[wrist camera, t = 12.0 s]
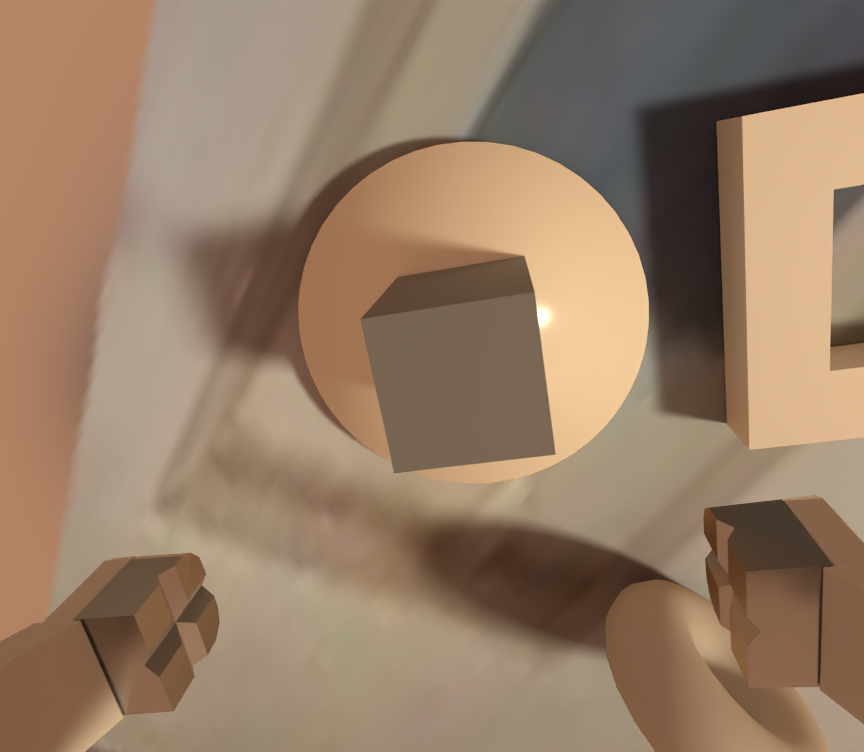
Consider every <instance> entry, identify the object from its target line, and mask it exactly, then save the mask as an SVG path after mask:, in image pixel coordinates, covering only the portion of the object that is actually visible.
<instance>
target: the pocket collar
mask: <svg viewBox="0 0 864 752" xmlns="http://www.w3.org/2000/svg"><path fill="white" fill-rule="evenodd" d="M716 123H717V152H718V182H719V211H720V240H721V269H722V299H723V328H724V357H725V386H726V415H727V425H728V426H729V427H730V428H731V429H732V430H733V431H734V433H735V434H736V435H737V436H738V437H739V438H740V439H741V441H742V442H743V443H744V444H745V445H746V446H747V447H748V449H749V450H752V449H761V448H770V447H779V446H788V445H797V444H806V443H815V442H824V441H833V440H842V439H851V438H860V437H864V343H857V344H850V345H842V346H835V347H830V337H831V290H832V243H833V195H834V189H839V188H845V187H851V186H857V185H863V184H864V93H862V94H857V95H851V96H846V97H841V98H836V99H830V100H825V101H820V102H815V103H809V104H804V105H799V106H793V107H788V108H783V109H778V110H772V111H767V112H762V113H756V114H751V115H746V116H741V117H735V118H730V119H725V120H720V121H716Z"/></svg>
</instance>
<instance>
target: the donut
mask: <svg viewBox="0 0 864 752" xmlns="http://www.w3.org/2000/svg"><path fill="white" fill-rule="evenodd" d="M605 638H606V654H607V659H608V662H609V665H610V668H611V671H612V674H613V677H614V680H615V684H616V687H617V689H618V690H619V692H620V694H621V696H622V698H623V700H624V702H625V704H626V706H627V708H628V710H629V712H630V714H631V715H632V717H633V719H634V721H635V723H636V724H637V726H638V727H639V729H640V730H641V732H642V733H643V734H644V736H645V737H646V739H647V740H648V742H649V743H650V744H651V746H652V747H653V749H654V750H655V752H830V751H829V748H828V746H827V744H826V742H825V739H824V737H823V735H822V733H821V730H820V728H819V726H818V724H817V722H816V720H815V719H814V717H813V715H812V714H811V712H810V710H809V709H808V707H807V706H806V704H805V702H804V701H803V699H802V698H801V696H800V694H799V693H798V692H797V690H796V689H795V688H794V687H768V688H749V687H748V685H747V682H746V680H745V678H744V676H743V674H742V671H741V669H740V667H739V665H738V663H737V661H736V658H735V656H734V654H733V652H732V650H731V632H730V631H729V630H727V629H726V628H724V627H723V626H721V625H720V623H719V620H718V618H717V615H716V613H715V611H714V607H713V604H712V602H710V601H708V600H707V599H705V598H703V597H702V596H700V595H699V594H697V593H695V592H694V591H692V590H690V589H688V588H686V587H684V586H681V585H678V584H675V583H672V582H669V581H665V580H659V579H655V580H649V581H644V582H639V583H634V584H631V585H629V586H628V587H626V588H624V589H623V590H622V591H621V592H620V593H619V595H618V596H617V597H616V599H615V600H614V602H613V604H612V606H611V608H610V609H609V611H608V614H607V617H606V621H605Z"/></svg>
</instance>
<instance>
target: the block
mask: <svg viewBox="0 0 864 752" xmlns="http://www.w3.org/2000/svg"><path fill="white" fill-rule="evenodd" d="M360 320H361V325H362V329H363V334H364V338H365V343H366V347H367V352H368V356H369V361H370V366H371V370H372V375H373V379H374V384H375V388H376V393H377V397H378V402H379V406H380V411H381V415H382V420H383V424H384V429H385V433H386V438H387V442H388V447H389V451H390V456H391V461H392V465H393V470H394V473H401V472H409V471H418V470H427V469H436V468H444V467H453V466H462V465H470V464H479V463H488V462H496V461H505V460H514V459H522V458H531V457H540V456H549V455H556V453H555V445H554V437H553V430H552V422H551V414H550V407H549V399H548V391H547V383H546V376H545V368H544V360H543V353H542V345H541V337H540V329H539V322H538V314H537V306H536V298H535V291H534V288H533V284H532V281H531V277H530V273H529V270H528V266H527V263H526V259H525V256H521V257H515V258H509V259H502V260H496V261H490V262H484V263H478V264H472V265H466V266H460V267H454V268H448V269H442V270H436V271H430V272H424V273H418V274H412V275H406V276H400V277H397V278H396V279H395V280H394V282H393V283H392V284H391V285H390V286H389V287H388V288H387V289H386V291H385V292H384V293H383V294H382V295H381V296H380V297H379V299H378V300H377V301H376V302H375V303H374V304H373V305H372V306H371V308H370V309H369V310H368V311H367V312H366V313H365V314H364V315H363V317H362V318H361V319H360Z"/></svg>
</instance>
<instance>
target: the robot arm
mask: <svg viewBox="0 0 864 752" xmlns="http://www.w3.org/2000/svg"><path fill="white" fill-rule="evenodd" d="M703 519H704V534H705V536H706V538H707V540H708V542H709V544H710V546H711V548H712V551H711V552H710V553H709V555H708V556H707V557H706V558H705V562H706V575H707V582H708V588H709V593H710V598H711V601H712V604H713V607H714V611H715V613H716V615H717V618H718V620H719V623H720V625H721V626H723V627H724V628H726V629H727V630H729V631H730V632H731V650H732V652H733V654H734V656H735V658H736V661H737V663H738V665H739V667H740V669H741V671H742V674H743V676H744V678H745V680H746V682H747V685H748V687H749V688H768V687H820V690H821V691H822V692H823V693H825V694H826V695H827V696H828V697H830V698H831V699H832V700H834V701H835V702H836V703H837V704H839V705H840V706H841V707H843V708H844V709H845V710H846V711H848V712H849V713H850V714H852V715H853V716H854V717H855V718H857V719H858V720H859V721H861V722H862V723H863V724H864V542H863V541H862V540H861V539H860V538H859V537H858V536H857V535H856V534H855V533H854V531H853V530H852V529H851V528H850V527H849V526H848V525H847V524H846V523H845V522H844V521H843V520H842V519H841V517H840V516H839V515H838V514H837V513H836V512H835V511H834V510H833V509H832V508H831V507H830V506H829V504H828V503H827V502H826V501H825V500H824V499H823V498H822V497H819V496H817V495H811V496H803V497H795V498H787V499H779V500H773V501H764V502H755V503H746V504H737V505H728V506H719V507H710V508H705V510H704V518H703ZM205 575H206V572H205V570H204V568H203V565H202V563H201V560H200V558H199V557H198V556H196V555H194V554H192V553H182V554H167V555H152V556H140V557H135V556H134V557H124V558H115V559H111V560H108V561H104V562H103V563H102V564H101V565H100V566H99V567H98V568H97V569H96V570H95V571H94V572H93V573H92V574H91V575H90V576H89V577H88V578H87V579H86V580H85V581H84V582H83V583H82V584H81V585H80V586H79V587H78V588H77V589H76V590H75V591H74V592H73V593H72V594H71V595H70V596H69V597H68V598H67V599H66V600H65V601H64V602H63V603H62V604H61V605H60V606H59V607H58V608H57V609H56V610H55V611H54V612H53V613H52V614H51V615H50V616H49V617H48V618H47V619H46V620H45V621H44V622H43V623H34V624H32V625H30V626H29V627H27V628H25V629H23V630H21V631H19V632H17V633H16V634H14V635H12V636H10V637H8V638H6V639H5V640H3V641H1V642H0V752H85V751H86V750H87V749H88V748H89V747H91V746H92V745H93V744H94V743H95V742H96V741H97V740H99V739H100V738H101V737H102V736H103V735H104V734H105V733H107V732H108V731H109V730H110V729H111V728H112V727H113V726H115V725H116V724H117V723H118V722H119V721H120V720H121V719H123V715H129V714H143V713H157V712H170V711H174V709H175V708H176V706H177V704H178V703H179V701H180V700H181V698H182V696H183V695H184V693H185V691H186V690H187V688H188V686H189V685H190V683H191V681H192V680H193V678H194V672H193V667H192V666H193V665H194V664H196V663H197V662H199V661H200V660H201V659H203V658H204V657H205V656H207V655H208V653H209V651H210V650H211V648H212V646H213V644H214V643H215V641H216V637H217V632H218V627H219V613H218V607H217V604H216V601H215V598H214V596H213V595H212V594H211V593H210V592H209V591H208V590H206V589H205V588H204V587H203V586H202V583H203V581H204V578H205Z"/></svg>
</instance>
